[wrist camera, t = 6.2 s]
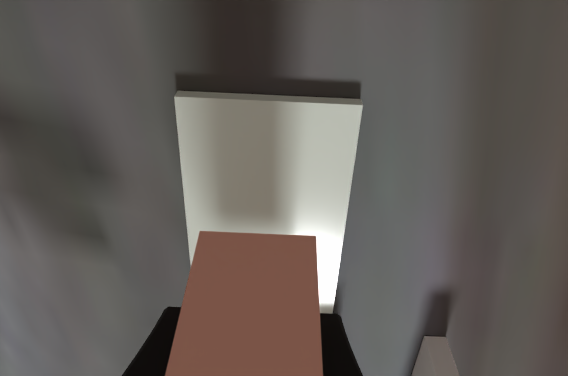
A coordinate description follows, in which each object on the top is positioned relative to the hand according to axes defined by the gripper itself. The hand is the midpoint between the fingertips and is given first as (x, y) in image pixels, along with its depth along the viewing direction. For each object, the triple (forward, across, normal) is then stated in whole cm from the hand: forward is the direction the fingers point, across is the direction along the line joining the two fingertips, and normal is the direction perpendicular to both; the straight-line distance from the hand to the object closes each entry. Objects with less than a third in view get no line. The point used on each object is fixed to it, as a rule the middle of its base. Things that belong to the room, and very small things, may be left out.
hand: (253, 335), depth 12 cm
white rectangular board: (+8, 0, +3) cm, 9 cm away
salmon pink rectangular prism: (+2, 0, +3) cm, 4 cm away
